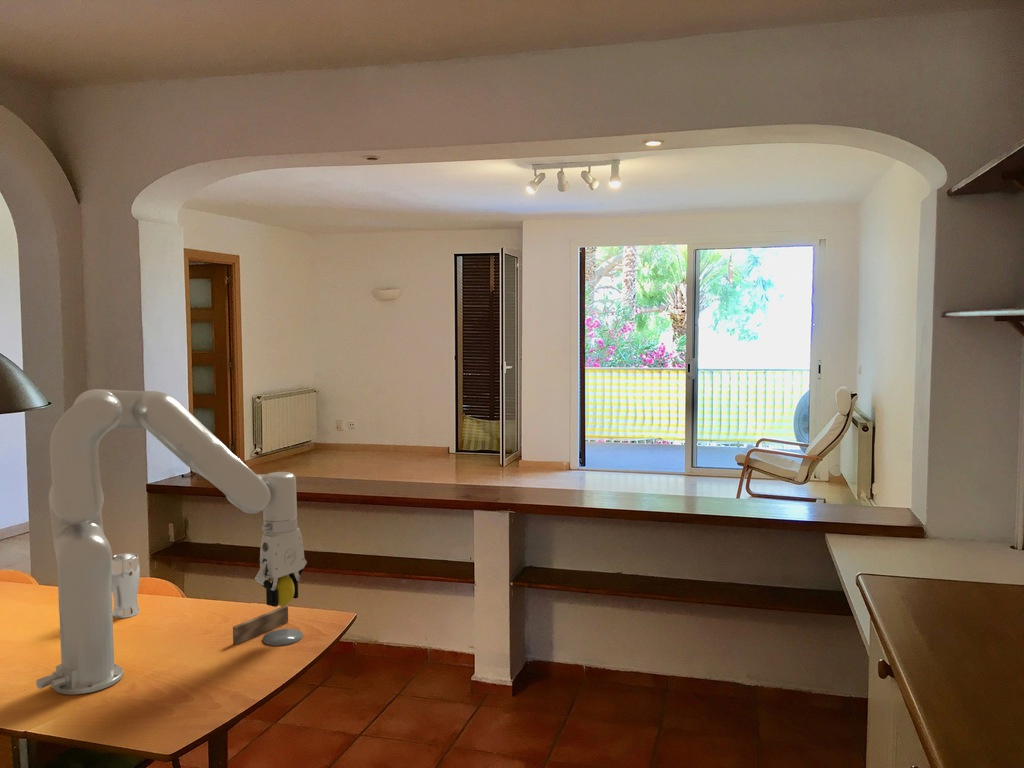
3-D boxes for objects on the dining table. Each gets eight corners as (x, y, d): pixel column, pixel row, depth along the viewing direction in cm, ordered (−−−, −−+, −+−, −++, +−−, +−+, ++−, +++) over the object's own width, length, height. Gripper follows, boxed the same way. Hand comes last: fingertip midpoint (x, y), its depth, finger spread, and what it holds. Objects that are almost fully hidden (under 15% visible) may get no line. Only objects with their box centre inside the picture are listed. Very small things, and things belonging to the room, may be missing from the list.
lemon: (290, 611, 178) (289, 577, 177) (267, 611, 178) (266, 577, 177) (298, 602, 183) (297, 570, 183) (275, 602, 183) (274, 570, 183)
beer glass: (113, 611, 199) (111, 554, 198) (143, 608, 201) (141, 551, 200) (108, 620, 192) (106, 561, 192) (138, 617, 195) (136, 559, 194)
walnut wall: (236, 644, 177) (236, 627, 177) (233, 643, 178) (232, 626, 177) (288, 622, 191) (287, 606, 191) (284, 621, 192) (284, 605, 191)
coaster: (282, 648, 175) (282, 646, 175) (254, 641, 179) (254, 638, 179) (310, 635, 183) (310, 633, 183) (283, 628, 187) (283, 626, 187)
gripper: (263, 536, 170) (266, 616, 171) (318, 519, 185) (320, 593, 186) (240, 532, 174) (242, 610, 175) (295, 516, 189) (297, 588, 190)
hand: (282, 600), depth 180 cm, fingers closed on lemon, 5 cm apart
